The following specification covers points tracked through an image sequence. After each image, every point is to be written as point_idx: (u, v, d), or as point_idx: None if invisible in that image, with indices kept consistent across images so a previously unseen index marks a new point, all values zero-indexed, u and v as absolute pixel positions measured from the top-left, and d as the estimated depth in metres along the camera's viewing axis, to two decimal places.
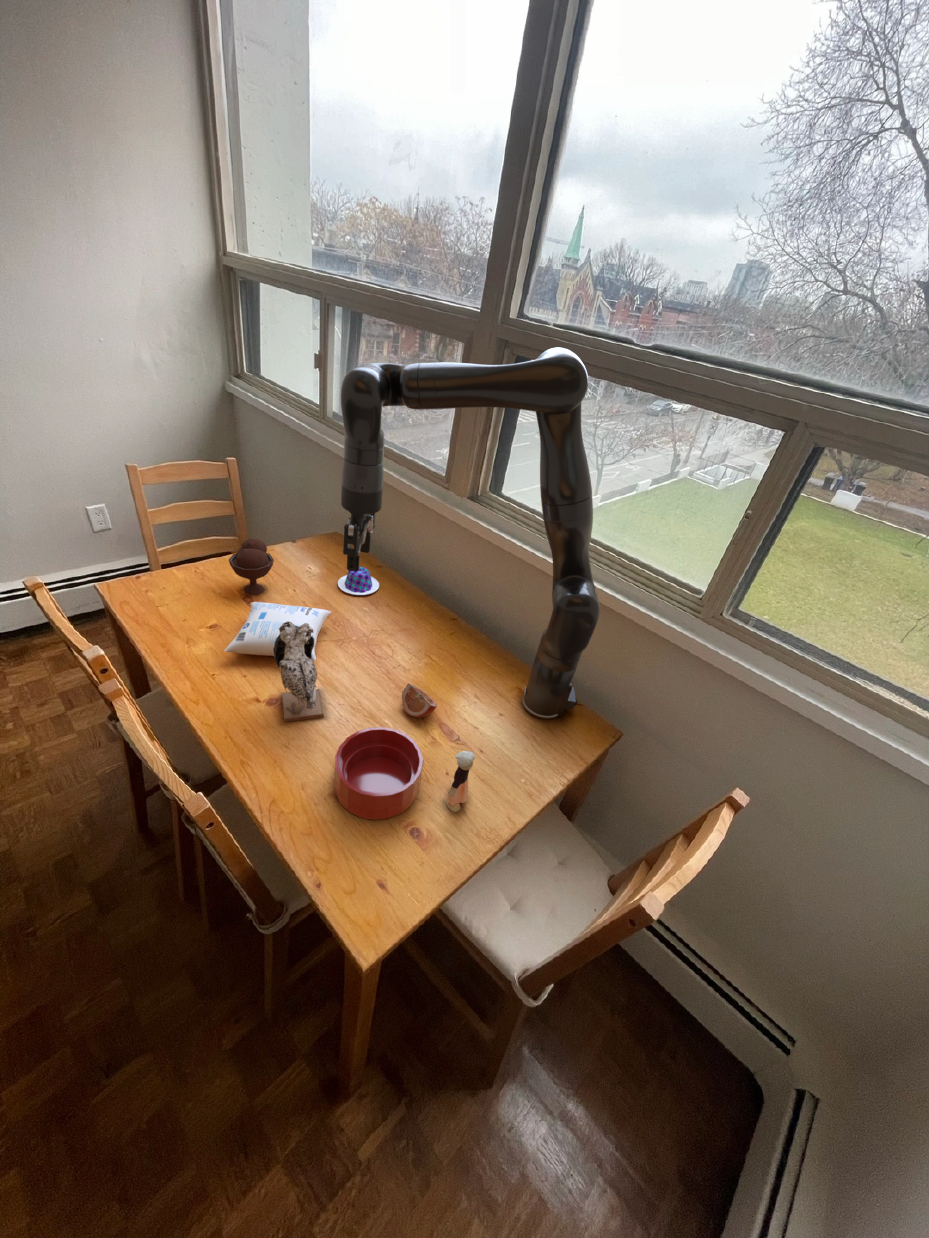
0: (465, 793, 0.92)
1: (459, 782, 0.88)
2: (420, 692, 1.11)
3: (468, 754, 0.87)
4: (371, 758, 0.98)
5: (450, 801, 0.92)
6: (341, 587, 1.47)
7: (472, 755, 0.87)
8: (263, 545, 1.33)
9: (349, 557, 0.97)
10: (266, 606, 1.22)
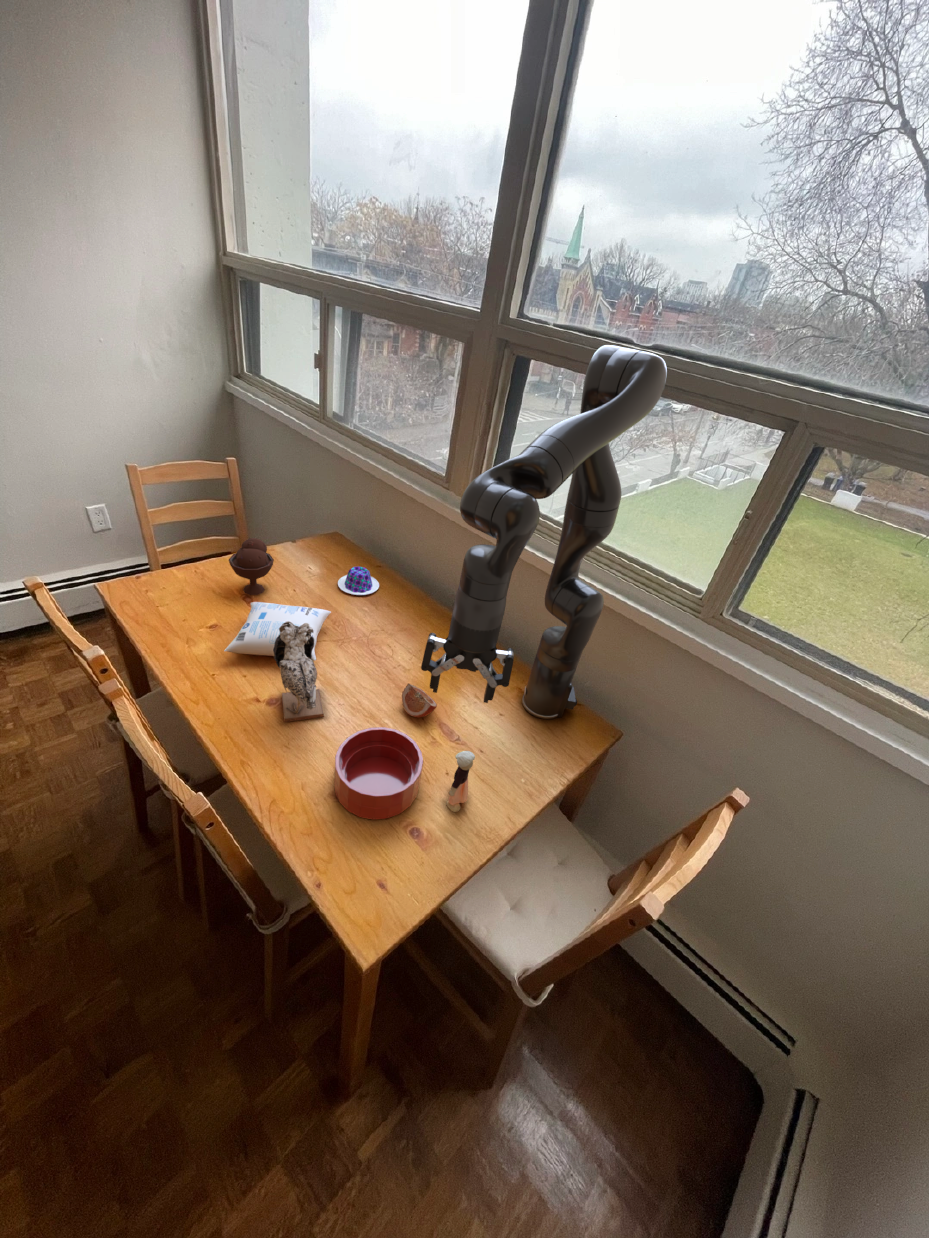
0: (465, 793, 0.92)
1: (459, 782, 0.88)
2: (420, 692, 1.11)
3: (468, 754, 0.87)
4: (371, 758, 0.98)
5: (450, 801, 0.92)
6: (341, 587, 1.47)
7: (472, 755, 0.87)
8: (263, 545, 1.33)
9: None
10: (266, 606, 1.22)
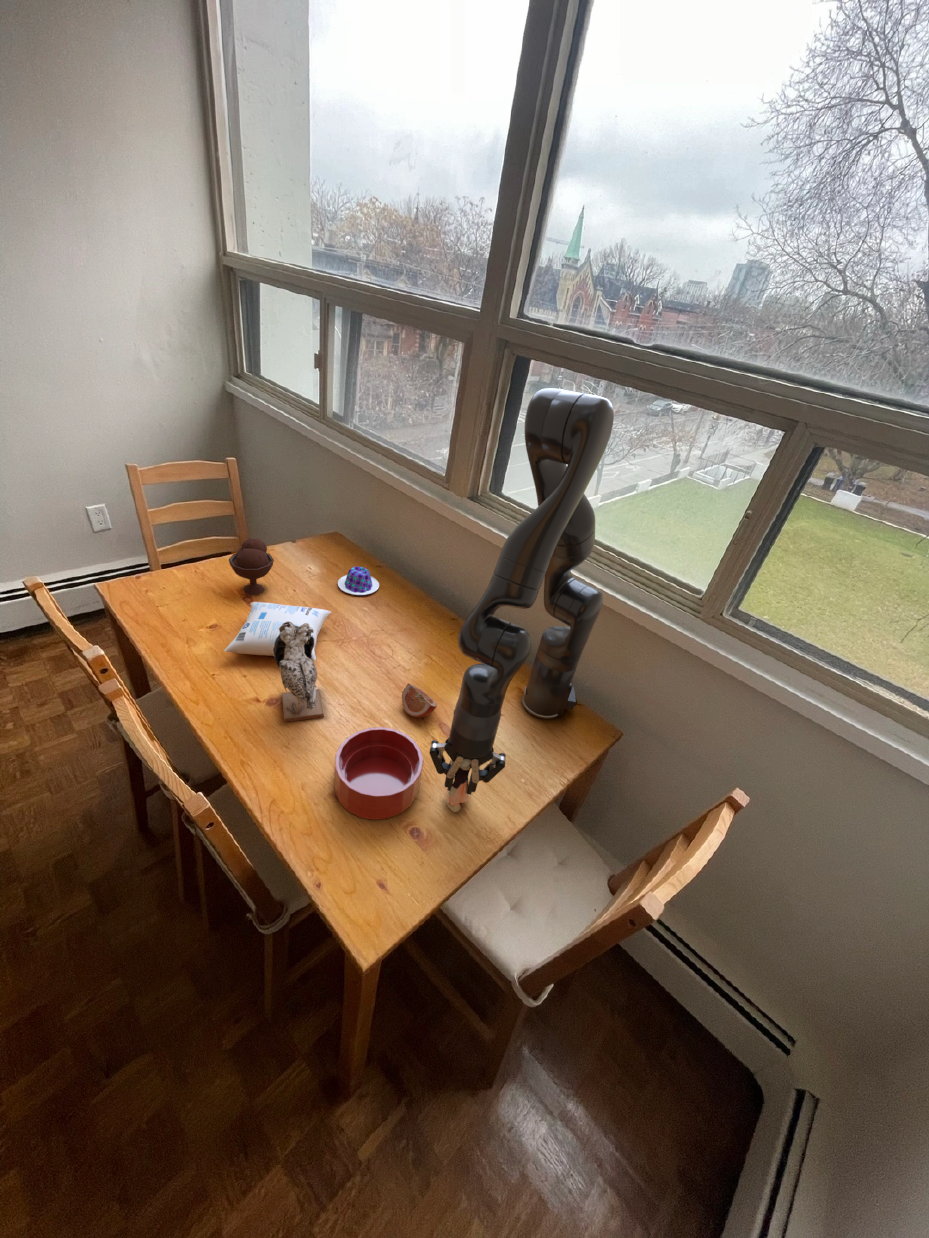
0: (465, 793, 0.92)
1: (459, 782, 0.88)
2: (420, 692, 1.11)
3: None
4: (371, 758, 0.98)
5: (450, 801, 0.92)
6: (341, 587, 1.47)
7: None
8: (263, 545, 1.33)
9: None
10: (266, 606, 1.22)
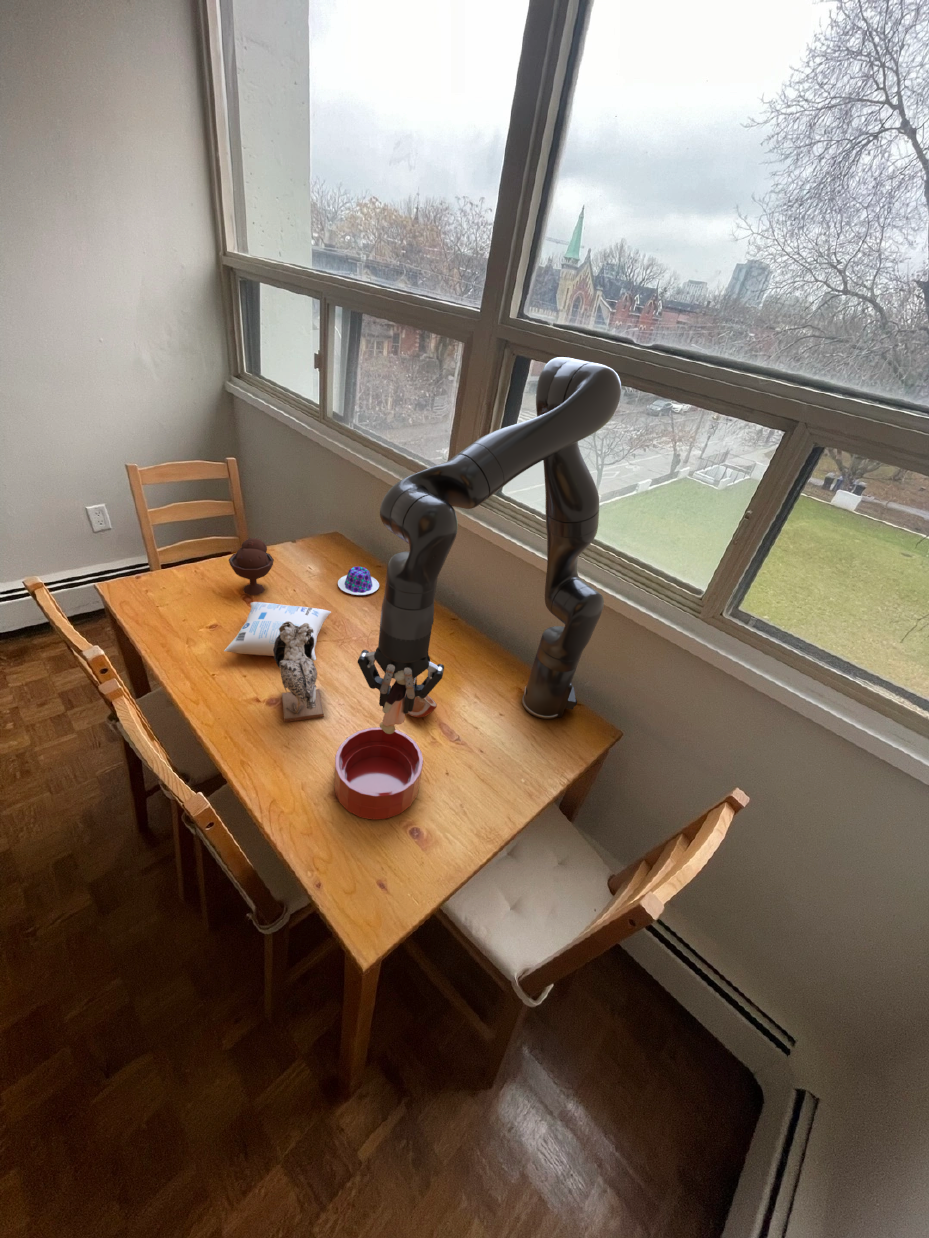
0: (401, 713, 0.83)
1: (395, 697, 0.78)
2: None
3: None
4: (371, 758, 0.98)
5: (384, 722, 0.82)
6: (341, 587, 1.47)
7: None
8: (263, 545, 1.33)
9: None
10: (266, 606, 1.22)
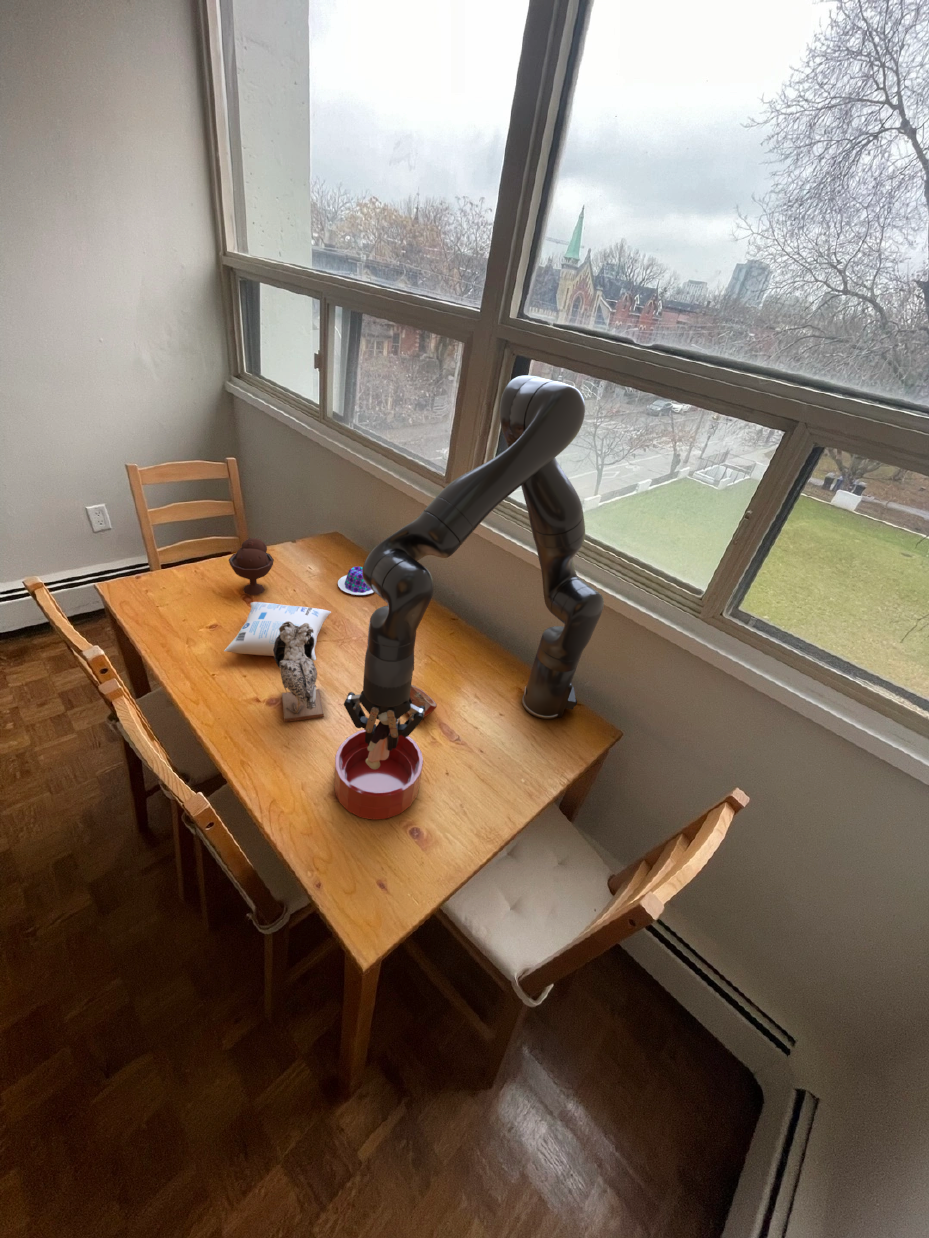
0: (386, 750, 0.88)
1: (379, 737, 0.84)
2: (420, 692, 1.11)
3: None
4: None
5: (369, 758, 0.88)
6: (341, 587, 1.47)
7: None
8: (263, 545, 1.33)
9: None
10: (266, 606, 1.22)
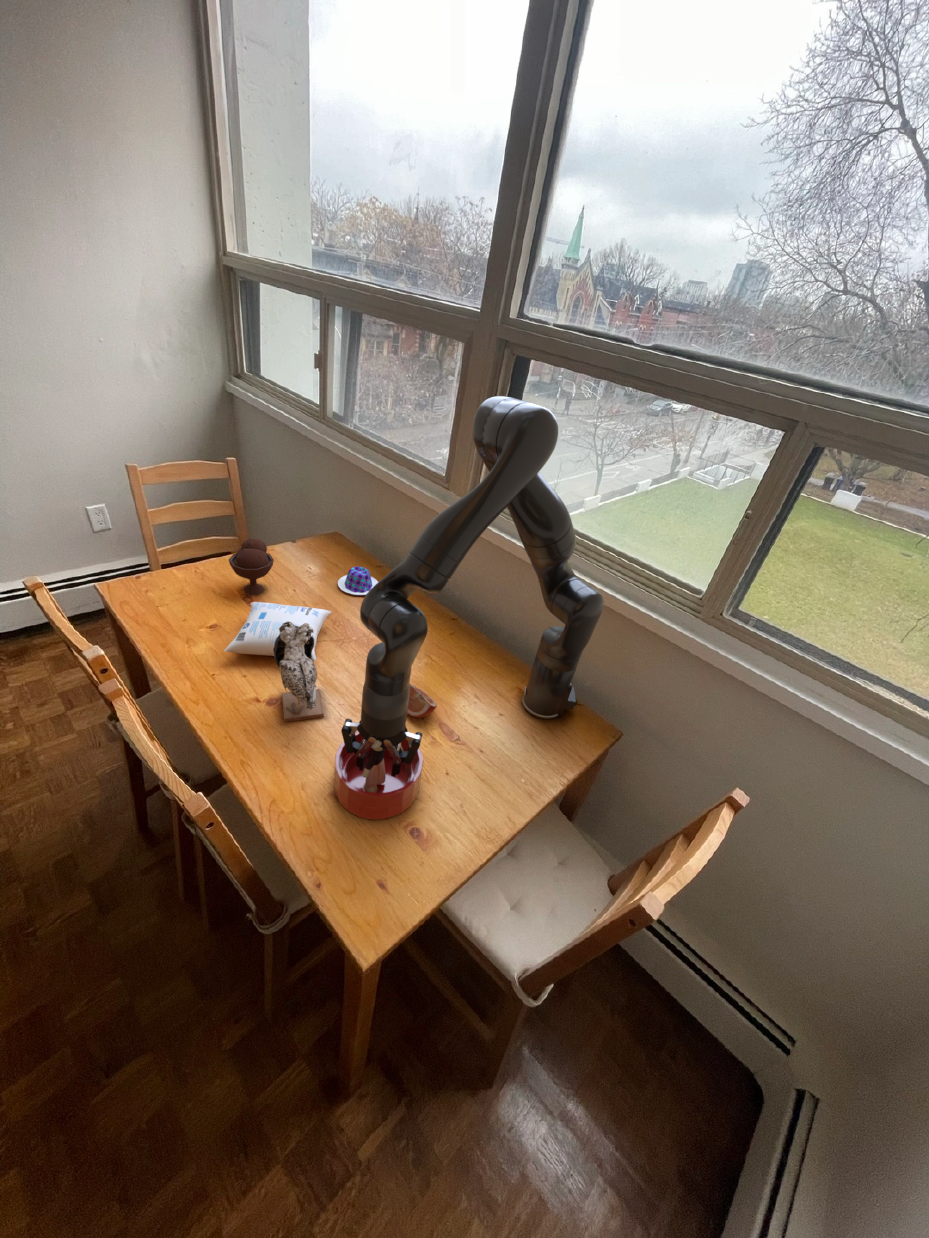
0: (381, 775, 0.92)
1: (372, 763, 0.88)
2: (420, 692, 1.11)
3: None
4: None
5: (366, 783, 0.91)
6: (341, 587, 1.47)
7: None
8: (263, 545, 1.33)
9: None
10: (266, 606, 1.22)
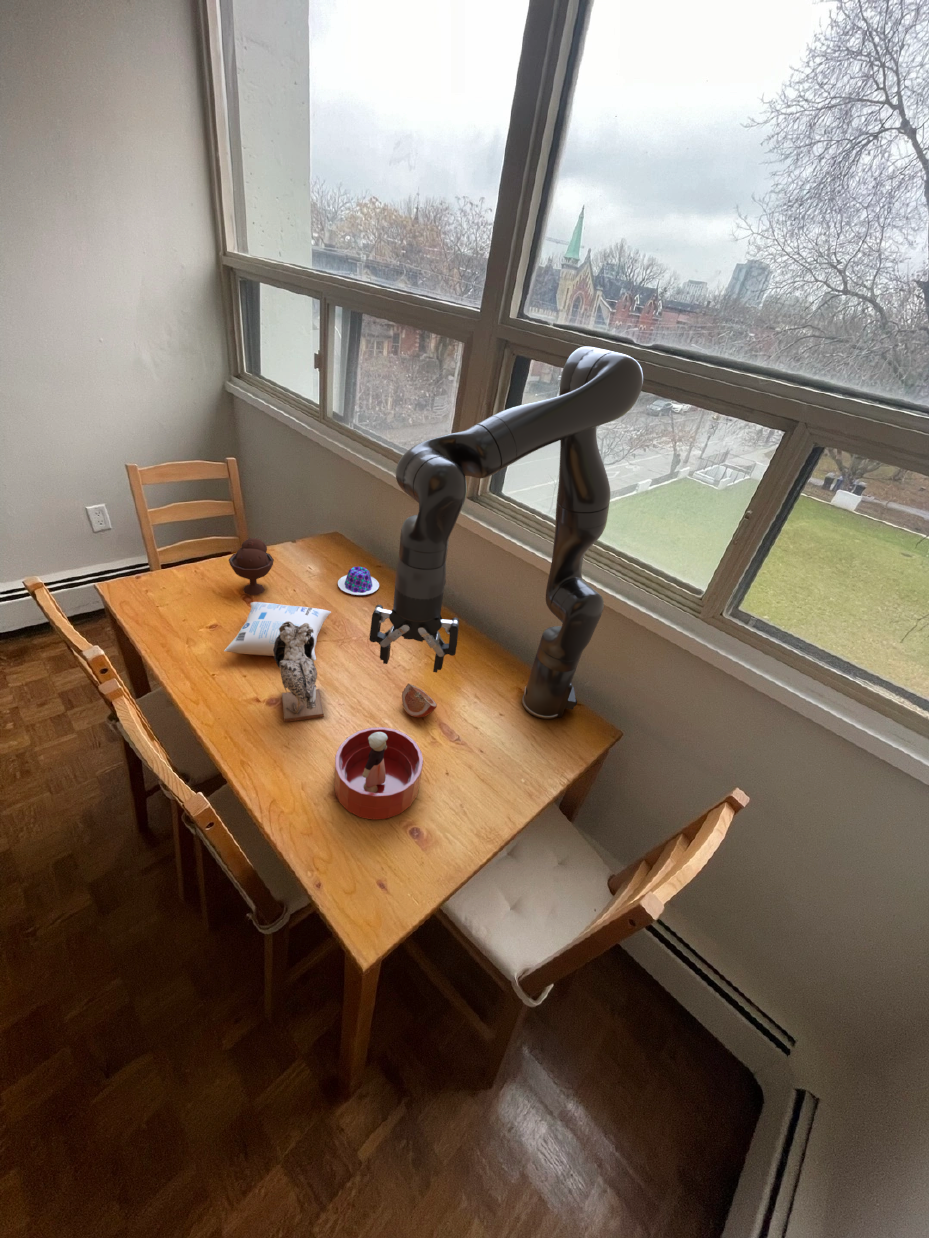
0: (381, 775, 0.92)
1: (372, 763, 0.88)
2: (420, 692, 1.11)
3: (380, 735, 0.87)
4: None
5: (366, 783, 0.91)
6: (341, 587, 1.47)
7: (384, 736, 0.87)
8: (263, 545, 1.33)
9: None
10: (266, 606, 1.22)
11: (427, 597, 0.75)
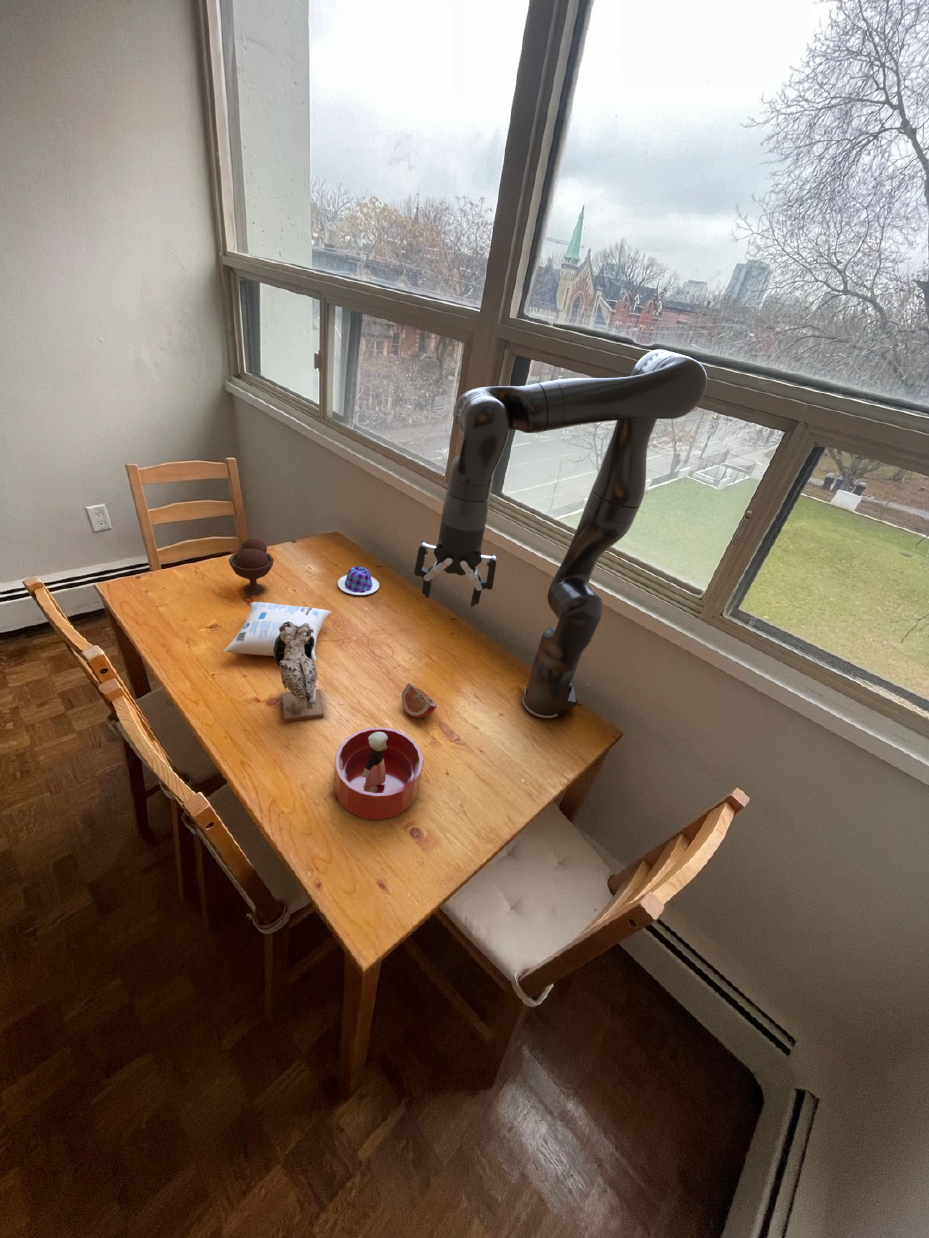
0: (381, 775, 0.92)
1: (372, 763, 0.88)
2: (420, 692, 1.11)
3: (380, 735, 0.87)
4: None
5: (366, 783, 0.91)
6: (341, 587, 1.47)
7: (384, 736, 0.87)
8: (263, 545, 1.33)
9: None
10: (266, 606, 1.22)
11: (472, 529, 0.83)
